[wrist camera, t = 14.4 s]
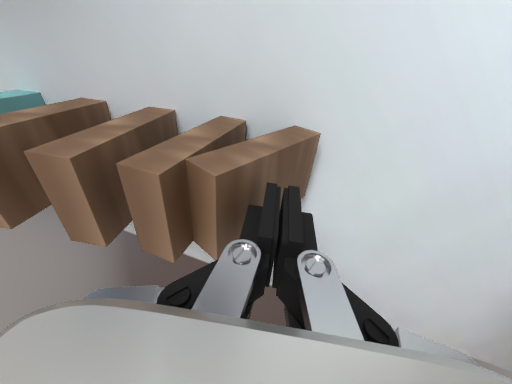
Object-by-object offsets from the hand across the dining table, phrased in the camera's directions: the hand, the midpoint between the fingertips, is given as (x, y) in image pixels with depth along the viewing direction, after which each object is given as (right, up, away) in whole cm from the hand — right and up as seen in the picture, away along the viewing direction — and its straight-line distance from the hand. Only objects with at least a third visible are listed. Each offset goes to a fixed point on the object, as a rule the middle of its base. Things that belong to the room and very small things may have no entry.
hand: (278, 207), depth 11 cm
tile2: (-3, +4, +5) cm, 7 cm away
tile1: (+2, +3, +5) cm, 6 cm away
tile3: (-8, +5, +6) cm, 11 cm away
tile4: (-14, +6, +6) cm, 16 cm away
